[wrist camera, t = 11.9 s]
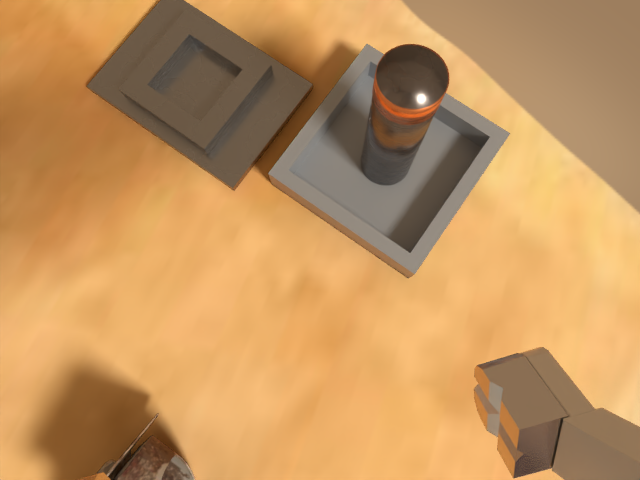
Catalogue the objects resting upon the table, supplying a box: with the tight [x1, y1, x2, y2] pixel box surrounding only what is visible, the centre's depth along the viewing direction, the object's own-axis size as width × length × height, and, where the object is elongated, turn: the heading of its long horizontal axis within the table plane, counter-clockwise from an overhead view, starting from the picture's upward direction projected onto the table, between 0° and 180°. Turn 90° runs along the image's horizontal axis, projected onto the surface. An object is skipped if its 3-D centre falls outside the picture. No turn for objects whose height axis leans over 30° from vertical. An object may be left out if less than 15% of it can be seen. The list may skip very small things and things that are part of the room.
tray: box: [268, 44, 510, 278], centre depth 34 cm, size 12×12×2 cm
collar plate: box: [87, 0, 313, 190], centre depth 36 cm, size 14×10×2 cm
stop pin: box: [361, 44, 449, 185], centre depth 29 cm, size 4×4×11 cm
